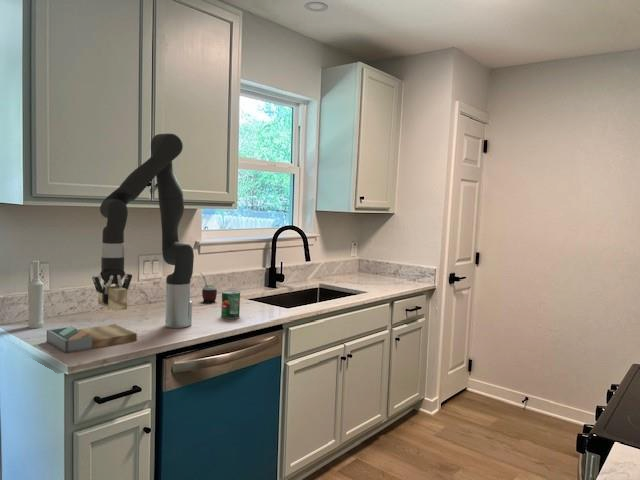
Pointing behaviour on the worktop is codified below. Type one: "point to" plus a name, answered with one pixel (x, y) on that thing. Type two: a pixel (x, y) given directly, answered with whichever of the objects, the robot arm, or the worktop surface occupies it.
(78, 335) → the tile
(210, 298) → the mate gourd
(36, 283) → the bottle
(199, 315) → the worktop surface
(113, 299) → the cream wooden beam
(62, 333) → the tile
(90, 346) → the box
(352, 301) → the worktop surface
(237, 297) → the canned tomato
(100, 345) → the board
